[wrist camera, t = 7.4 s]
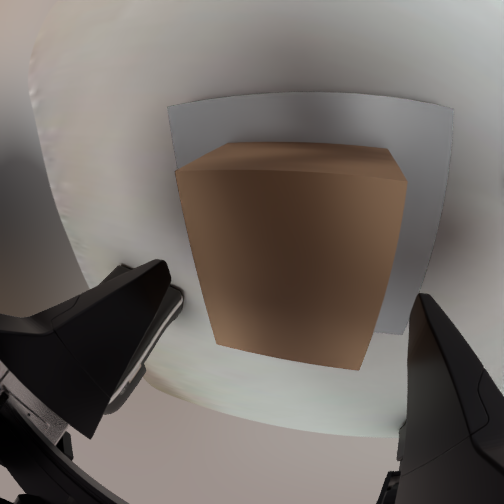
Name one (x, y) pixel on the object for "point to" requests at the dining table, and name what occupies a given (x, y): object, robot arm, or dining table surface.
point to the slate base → (349, 133)
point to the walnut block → (294, 245)
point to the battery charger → (143, 343)
